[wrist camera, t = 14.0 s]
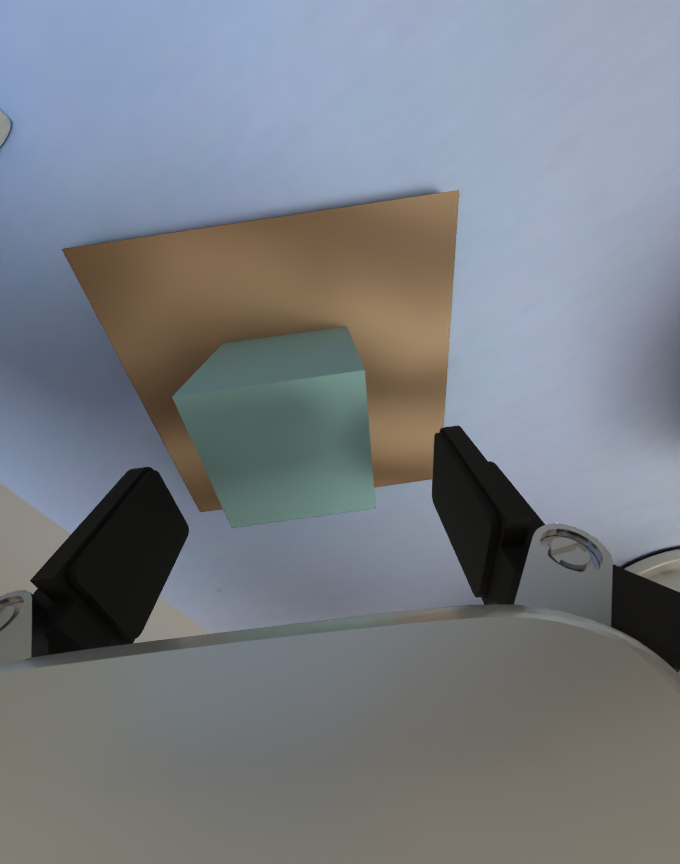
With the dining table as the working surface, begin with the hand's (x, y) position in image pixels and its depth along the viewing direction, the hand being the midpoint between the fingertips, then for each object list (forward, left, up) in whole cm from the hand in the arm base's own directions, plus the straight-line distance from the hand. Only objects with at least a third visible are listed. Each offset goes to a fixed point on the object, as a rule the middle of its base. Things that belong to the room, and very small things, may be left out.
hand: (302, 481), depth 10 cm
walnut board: (0, 0, -8) cm, 8 cm away
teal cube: (0, 0, -7) cm, 7 cm away
